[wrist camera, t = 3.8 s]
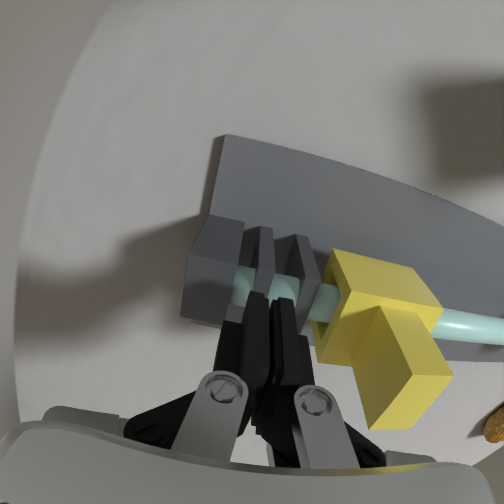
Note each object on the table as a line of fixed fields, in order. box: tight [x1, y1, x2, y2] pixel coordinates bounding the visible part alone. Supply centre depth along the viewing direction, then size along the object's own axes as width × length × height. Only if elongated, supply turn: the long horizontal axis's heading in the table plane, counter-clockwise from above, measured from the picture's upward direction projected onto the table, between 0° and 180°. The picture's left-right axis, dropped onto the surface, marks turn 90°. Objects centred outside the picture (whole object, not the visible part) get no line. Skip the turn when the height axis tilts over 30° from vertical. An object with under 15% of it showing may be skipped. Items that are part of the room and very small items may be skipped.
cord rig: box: [180, 134, 504, 362], centre depth 16 cm, size 12×32×6 cm, turn 77°
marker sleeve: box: [310, 248, 454, 430], centre depth 13 cm, size 4×5×8 cm
